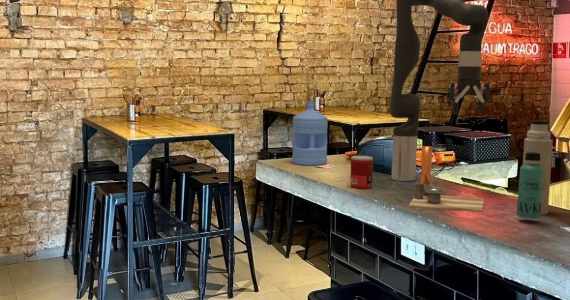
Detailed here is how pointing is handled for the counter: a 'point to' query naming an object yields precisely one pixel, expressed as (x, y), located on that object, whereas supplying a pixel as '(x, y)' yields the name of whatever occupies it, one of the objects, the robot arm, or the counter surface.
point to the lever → (428, 172)
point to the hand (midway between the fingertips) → (467, 113)
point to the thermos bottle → (541, 144)
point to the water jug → (309, 137)
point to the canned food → (361, 172)
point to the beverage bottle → (530, 188)
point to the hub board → (445, 201)
